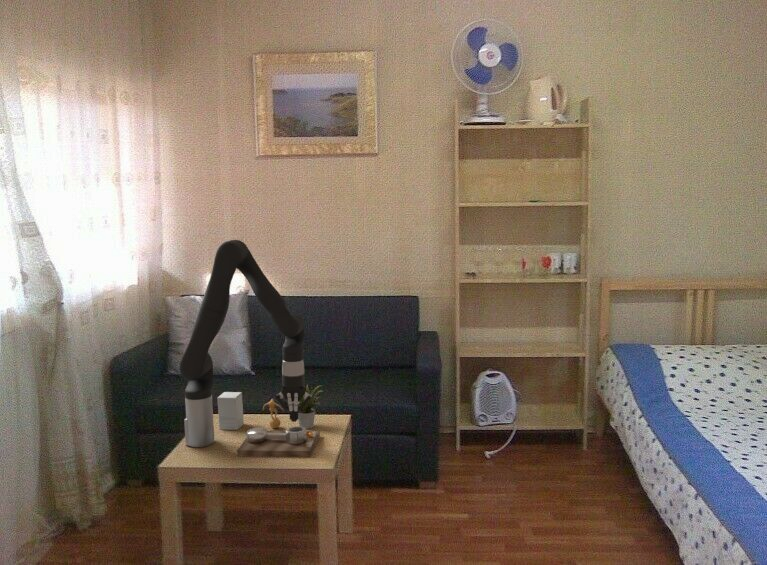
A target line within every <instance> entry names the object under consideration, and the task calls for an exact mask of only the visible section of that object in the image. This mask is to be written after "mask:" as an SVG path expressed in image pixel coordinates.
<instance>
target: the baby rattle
mask: <svg viewBox="0 0 767 565" xmlns="http://www.w3.org/2000/svg"><path fill="white" fill-rule="evenodd" d="M267 431H268V429H267V428H264V427H253V428H250V429H248V430H246V438H247V441H248V442H250V443H261V442H264V441H266V440H267V439H286V442H288V443H289V444H300V443H303V442H305V441H306V436H309V437H313V433H312V432H310V433H309V434H306V431H307V429H306V428H304V427H301V426H299V425H295V426H294V425H293V426H290V427H289V426H288V427H287V428H286V429H285V431H286V433H268V432H267Z"/></svg>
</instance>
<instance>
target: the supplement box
mask: <svg viewBox="0 0 767 565" xmlns="http://www.w3.org/2000/svg"><path fill="white" fill-rule="evenodd" d="M216 399H217V400H216V401H217V412H218V415H217V416H218V424H219V425H218V426H219V428H218V429H219V430H223V431H224V430H225V431H227V430H229V431H231V430H232V431H238V430H239V429H240V428H241V427H242V426H243V425H244V424H245V422H244V421H245V420H244V408H243V404H244V403H243V392H242V391H235V392H234V391H224V392H222V393H221V394H220V395H219V396H218V397H217V398H216Z"/></svg>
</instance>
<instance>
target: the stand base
mask: <svg viewBox="0 0 767 565" xmlns="http://www.w3.org/2000/svg"><path fill="white" fill-rule="evenodd" d="M267 432H268V433H286V430H267ZM310 432H312V433H313V437H309V436H306V441H305V442H303V443H300V444H289V443H288V442H286V439H267V440H266V441H264V442H261V443H250V442H248V441H247V437H246V438H245V439H244V440H243V442H242V443H241V444H240V445H239V447H238V449H236V454H237V457H238V456H239V457H285V458H286V457H290V458H291V457H292V458H294V457H299V458H302V457H303V458H306V457H307V458H310V457H311V456H312V454H313V452H314V450H315V448H316V445H317V443H318V442H319V439H320V437H321V434H320V433H321V432H320V431H319V430H315V431H314V430H312V431H311V430H306V434H309V433H310ZM317 441H318V442H317Z"/></svg>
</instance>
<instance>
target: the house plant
mask: <svg viewBox="0 0 767 565" xmlns="http://www.w3.org/2000/svg"><path fill="white" fill-rule="evenodd" d="M322 386H323V385H318V386H315V388H313V389H312V390H310V388H309V387H308V384H306V385H305V389H306V392H307V393H308V394H311V395H312V397H311V399H310V400H309V401H308V403H307V404H306V405H305V406H304V408H303V409H302V410H299V418H298V420H297V421H298V426H301V427H304V428H306V430H310V429H312V427H313V428H314V424H315V418H316V417H315V416H316V409H315V407H316V408H319V407H318V405H319V406H320V405H321V404H320V402H319V401H318V399H319V398H320V396H317V395H318V394H319V393H320V392H321V393H322V392H323V389H320V390H318V389H319V387H322ZM317 390H318V391H317ZM316 391H317V392H316ZM315 392H316V393H315ZM314 393H315V394H314ZM304 397H305V395H304V396H303V397H302V398H301V400H300V401H299V405H301V404H302V403H303V402H304V400H305V399H304ZM316 401H317V402H316ZM313 407H314V408H313ZM309 428H310V429H309Z"/></svg>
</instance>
